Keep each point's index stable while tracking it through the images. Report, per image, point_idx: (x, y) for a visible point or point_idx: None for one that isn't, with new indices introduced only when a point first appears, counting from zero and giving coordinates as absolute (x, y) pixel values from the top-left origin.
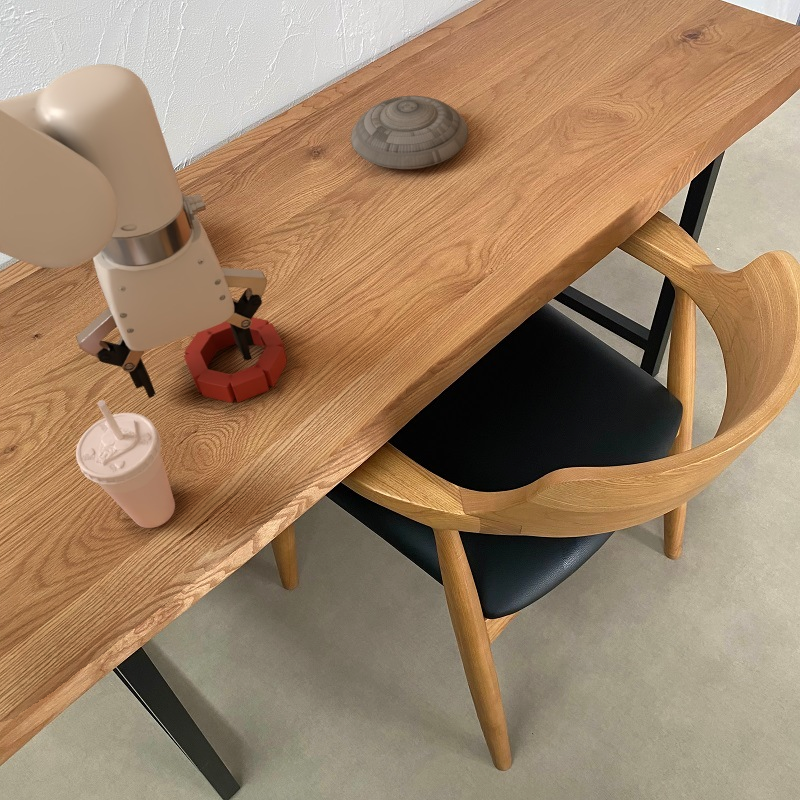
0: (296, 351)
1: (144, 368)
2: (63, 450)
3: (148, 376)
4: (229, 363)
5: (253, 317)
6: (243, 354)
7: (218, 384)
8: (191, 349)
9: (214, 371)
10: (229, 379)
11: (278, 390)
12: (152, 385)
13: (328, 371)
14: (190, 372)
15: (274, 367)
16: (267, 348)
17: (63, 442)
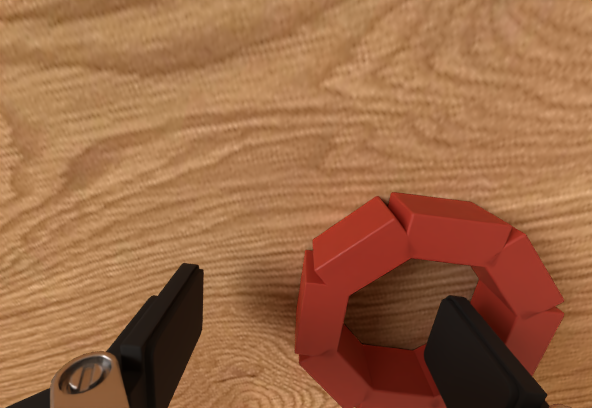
0: None
1: (168, 385)
2: (7, 283)
3: (189, 328)
4: (390, 276)
5: (545, 268)
6: (433, 378)
7: (334, 397)
8: (334, 276)
9: (346, 365)
10: (362, 399)
11: None
12: (199, 314)
13: None
14: (299, 309)
15: None
16: None
17: (7, 266)
